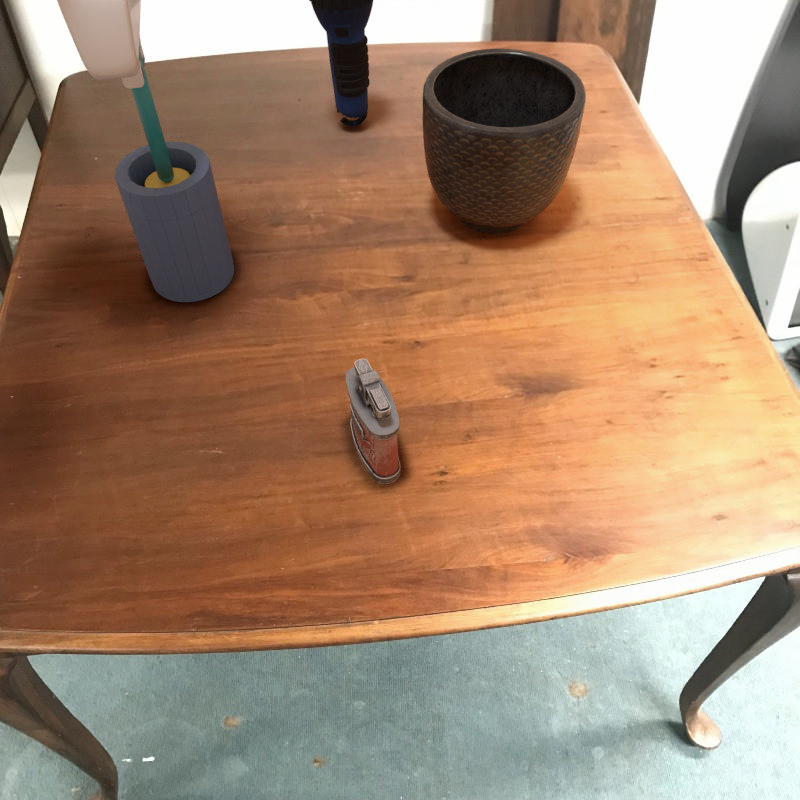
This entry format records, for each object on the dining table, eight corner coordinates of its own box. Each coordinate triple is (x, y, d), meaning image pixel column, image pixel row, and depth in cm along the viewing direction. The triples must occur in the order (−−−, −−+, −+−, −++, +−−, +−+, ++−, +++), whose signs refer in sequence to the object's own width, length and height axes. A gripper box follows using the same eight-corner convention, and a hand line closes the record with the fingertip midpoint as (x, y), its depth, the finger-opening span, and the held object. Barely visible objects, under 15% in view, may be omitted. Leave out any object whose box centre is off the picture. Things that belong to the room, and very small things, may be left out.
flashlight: (311, 122, 107) (293, -32, 91) (360, 104, 109) (351, -48, 94) (340, 149, 103) (327, -7, 87) (390, 130, 105) (386, -25, 90)
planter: (451, 272, 87) (458, 146, 75) (402, 185, 97) (400, 62, 85) (588, 238, 90) (617, 113, 78) (526, 158, 101) (543, 36, 88)
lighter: (343, 422, 74) (335, 352, 66) (376, 412, 75) (372, 340, 67) (373, 489, 69) (368, 421, 61) (408, 476, 70) (407, 408, 62)
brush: (157, 237, 80) (92, 40, 64) (157, 210, 83) (95, 15, 67) (202, 231, 81) (149, 34, 65) (200, 204, 83) (149, 10, 67)
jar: (151, 307, 84) (112, 201, 73) (152, 253, 90) (116, 147, 79) (236, 295, 85) (210, 189, 74) (232, 242, 91) (207, 136, 80)
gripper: (53, -141, 64) (104, 25, 75) (26, -41, 52) (93, 142, 63) (130, -147, 65) (170, 18, 76) (123, -50, 53) (172, 133, 63)
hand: (135, 75), depth 69 cm, fingers closed on brush
